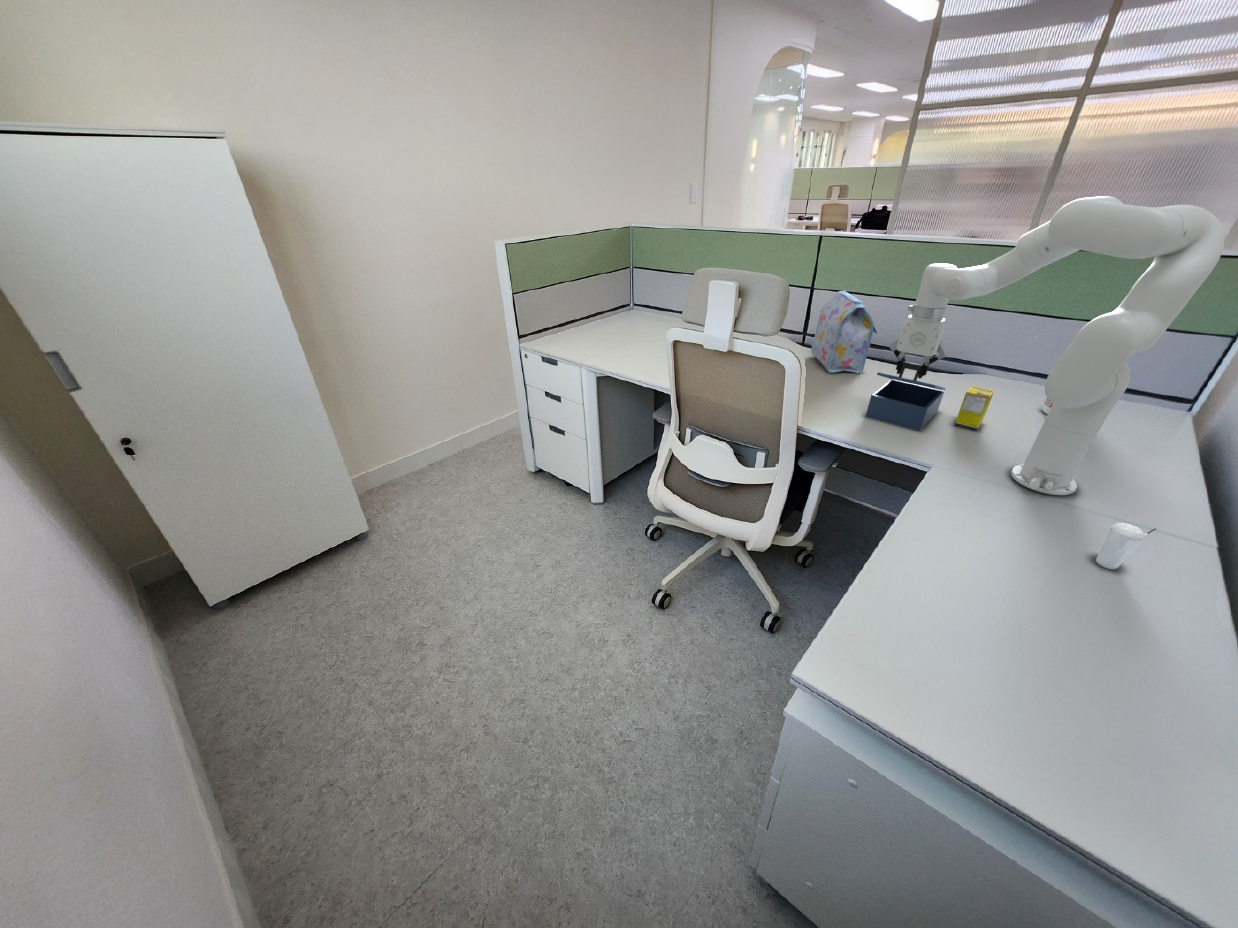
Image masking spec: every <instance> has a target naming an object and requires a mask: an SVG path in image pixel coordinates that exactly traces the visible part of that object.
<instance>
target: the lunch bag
mask: <svg viewBox="0 0 1238 928" xmlns="http://www.w3.org/2000/svg"><path fill="white" fill-rule="evenodd" d="M874 333H875V334H876V335H877V334H878V333H879V332H878V329H877V328H876V325H875V323H874V320H873V317H872V315H871V313H870V312H869V310H868V308H867V307H866V306H865V305H864V304H863V301H862V300H860V299H858V298H857V297H856V296H854V295H851V294H850V293H849V292H847V290H839V291H836V292H835V294H834V295H833V296H832V297H831V298H829V299H828V300H827V302H825V303H824V305H823V306H822V307H821V309H820V312H819V315H818V319H817V326H816V329H815V334H814V338H813V341H812V345H811V349H810V354H811V355H813V357H815V359H816V360H818V362H820V364H821V365H822V366H823V367H824V368H825V369H826V371H827V372H828V373H829V374H835V373H840V372H852V373H856V374H862V373H863V371H864V368H865V365H866V362H867V357H868V353H869V350H870V346H871V343H872V339H873V334H874Z"/></svg>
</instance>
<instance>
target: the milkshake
mask: <svg viewBox="0 0 1238 928" xmlns="http://www.w3.org/2000/svg"><path fill="white" fill-rule="evenodd" d="M1156 530H1157V528H1156V527H1155V528H1152V529H1151V530H1150V531H1148V532H1146V533H1144V532H1143V531H1142V529H1140V527H1137V526H1135V525H1133V524H1130V523H1126V522H1115V523H1114V524H1111V526H1110V528H1109V531H1108V532H1107V535H1106V538H1105V540H1104V542H1103V545H1102V547H1101V549H1100V550H1099V552H1098V554H1097V556H1096V559H1095V562H1096V563H1097V564H1098V565H1099V566H1101V567H1103V568H1105V569H1109V570H1117V569H1118V568H1119V567H1120V566H1121V565H1122V564H1123V563H1124V561H1125V560H1126V559H1127V558H1128V557H1129V555H1130V554H1131V553H1132V552H1133V551H1134V550H1135V549H1136V548H1137V547H1138V546H1139V545H1140V544H1141V542H1142V541H1144V539H1145V538H1146V536H1147V535H1149V534H1151V533H1153V532H1154V531H1156Z"/></svg>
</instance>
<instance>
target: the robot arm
mask: <svg viewBox="0 0 1238 928" xmlns="http://www.w3.org/2000/svg"><path fill="white" fill-rule="evenodd" d="M1225 240H1226V236H1225V230H1224V227H1223V224H1222V223H1221V221H1220V220H1219V219H1218V217H1216V215H1214V214H1213V213H1212V212H1211V211H1210V210H1208V209H1206V208H1204V207H1202V206H1198V205H1194V204H1174V205H1167V206H1166V205H1165V206H1159V207H1158V206H1157V207H1155V206H1153V207H1152V206H1143V205H1135V204H1124V203H1123V202H1122V200H1120V199H1118V198H1117V197H1114V196H1109V195H1102V196H1101V195H1100V196H1092V197H1091V196H1090V197H1089V196H1088V197H1082V198H1078V199H1074V200H1072V201H1070V202H1068V203H1066V204H1064V205H1063V206H1062V207H1061V208H1059V209H1058V210H1057V211H1056V212H1055V213H1054V214H1053V216H1052V217H1051V218H1050V220H1049V221H1047V222H1045V223H1043V224H1041V225H1040V226H1037V227H1036V228H1033V229H1032V230H1030V231H1028V232H1025V233H1024V234H1022V235H1021V236H1020V237H1019V238H1018V240H1017V242H1016V246H1015V247H1013V248H1012V249H1011V250H1010V251H1008V252H1006V253H1004V254H1002V255H1000V256H998V257H997V258H995V259H993V260H990V261H988V262H986V263H984V264H982V265H975V266H968V267H963V268H958V267H957V266H956V265H954V264H952V263H951V264H950V263H931V264H929V265H927V266H926V267H925V269H924V271H923V274H922V278H921V282H920V286H919V288H918V292H917V296H916V300H915V302H914V305H908V307H907V311H909V312H911V314H909V315H908V316H907V318H906V320H905V322H904V323H903V327H902V329H901V332H900V334H899V338H897V339H896V340H895V341H893V342H892V343H890V344H889V346H888V347H889V349H890V350H891V351H892V352H893V354H894V355H895V357H896V359H897V363H896V367H895V370H896V375H900V372H901V369H902V364H903V362H907V360H906V356H907V354H911V355H916V356H921V357H923V363H922V364H921V365H922V366H921V369H920V372H919V375H918V378H917V379H919V380H921V379H922V378H923V377H925V376H926V375H927V373H928V370H929V366H930V365H931V364H933V363H935V362H937V361H939V360H942V359H944V358H946V357H947V356H948V353H947V352H946V350H945V347H943V345H942V341H943V337H944V333H945V328H946V327H945V325H946V318H945V317H944V316H945V312H946V311H947V307H948V304H949V300H953V301H962V300H968V299H972V298H977V297H982V296H986V295H989V294H992V293H993V292H996V291H998V290H1000V289H1002V288H1004V287H1007V286H1009V285H1012V284H1013V283H1015V282H1016V283H1017V282H1018V281H1020V280H1022V279H1023V278H1026V277H1027V276H1029V275H1031V274H1033V273H1035V272H1036V271H1038V270H1039V269H1042V268H1044V267H1046V266H1048V265H1050V264H1053V263H1055V262H1057V261H1059V260H1061V259H1064V258H1065V257H1068V256H1070V255H1072V254H1074V253H1077V252H1078V251H1084V252H1089V253H1090V252H1091V253H1095V254H1101V255H1106V256H1111V257H1115V258H1121V259H1129V260H1142V259H1149V258H1153V261H1152V262H1151V264H1150V266H1149V267H1148V268H1147V269H1146V271H1144V273H1142V274H1141V276H1140V277H1138V279H1137V280H1136V282H1135V283H1134V284H1133V286H1132V287H1131V289H1130V290H1129V291H1128V293H1127V295H1125V297H1124V299H1123V300H1122V301H1121V302H1120V304H1119V305H1118V306H1117V307H1116V308H1115V309H1114V310H1113V311H1111V312H1106V313H1104V314H1101V315H1099V316H1097V317H1095V318H1093V319H1092V320H1090V321H1088V322H1087V323H1086V324H1085V325H1083V327H1081V329H1080V330H1079V331H1078V332H1077V333H1076V334H1075V336H1074V337H1073V339H1072V340H1071V341H1070V342H1069V345H1068V346H1067V347H1066V349H1065V350H1064V352H1063V353H1062V355H1061V356H1060V357H1059V358H1058V360H1057V362H1056V363H1055V365H1054V366H1053V368H1052V369H1051V370H1050V372H1049V374H1048V375H1047V378H1046V379H1045V382H1044V393H1045V396H1046V399H1047V398H1048V399H1049V400H1050V402H1052V403H1053V405H1052V407H1051V409H1050V411H1049V413H1048V414H1046V417H1045V419H1044V420H1043V422H1042V425H1041V427H1040V429H1039V431H1038V433H1037V435H1036V437H1035V439H1034V442H1033V443H1032V445H1031V447H1030V449H1029V451H1028V454H1027V456H1026V458H1025V460H1024V462H1023V463H1022V464H1018V465H1015V466H1014V467H1012V470H1011V472H1010V475H1011V477H1012V478H1013V480H1014V481H1016V482H1017V483H1018V484H1020V485H1022V486H1023V487H1026V488H1028V489H1030V490H1032V491H1035V492H1039V493H1042V494H1047V495H1052V496H1068V495H1072V494H1074V493H1075V492H1076V490H1077V489H1078V484H1077V482H1076V481H1075V480H1074V476H1075V474H1076V473H1077V471H1078V469H1079V467H1080V466H1081V464H1082V462H1083V460H1084V459H1085V457H1086V455H1087V453H1088V451H1089V450H1090V448H1091V446H1092V444H1093V442H1094V440H1095V439H1096V437H1097V435H1098V433H1099V432H1100V430H1101V429H1102V426H1103V424H1104V423H1105V422H1106V419H1107V418H1108V416H1109V415H1110V413H1111V411H1112V410H1113V409H1114V408H1115V405H1116V404H1117V403H1118V401H1119V400H1120V399H1121V398H1122V396H1123V395H1124V393H1125V392H1126V390H1127V388H1128V386H1129V385H1130V382H1131V378H1132V377H1131V376H1132V373H1131V369H1130V367H1129V365H1128V364H1127V361H1128V359H1130V357H1133V356H1135V355H1138V354H1141V353H1143V352H1145V351H1148V350H1149V349H1150V348H1152V347H1154V345H1155V344H1157V343H1158V341H1160V340H1161V337H1162V336H1164V334H1165V332H1166V331H1167V329H1168V328H1169V327H1170V326H1171V324H1172V323H1173V322H1174V320H1175V319H1176V318H1177V317H1178V316H1179V314H1180V313H1181V312H1182V311H1183V310H1184V308H1185V307H1186V305H1187V304H1188V303H1189V301H1190V300H1191V299H1192V297H1193V296H1194V295H1195V293H1196V292H1197V291H1198V289H1200V287H1201V286H1202V284H1203V283H1204V282H1205V281H1206V280H1207V279H1208V277H1209V276H1210V274H1211V273H1212V272H1213V270H1214V269H1215V267H1216V266H1217V264H1218V262H1219V261H1220V258H1221V257H1222V254H1223V251H1224V248H1225V242H1226V241H1225ZM937 353H938V354H937ZM936 354H937V355H936Z"/></svg>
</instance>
